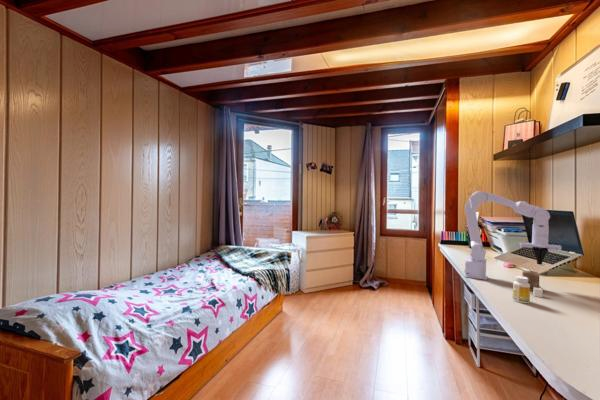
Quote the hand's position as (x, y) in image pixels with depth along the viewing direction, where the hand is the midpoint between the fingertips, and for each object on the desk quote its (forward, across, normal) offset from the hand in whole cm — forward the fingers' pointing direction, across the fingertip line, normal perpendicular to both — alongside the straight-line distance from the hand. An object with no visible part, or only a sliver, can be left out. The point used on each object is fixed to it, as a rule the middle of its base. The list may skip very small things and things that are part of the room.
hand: (539, 264), depth 130 cm
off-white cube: (+10, -3, -16) cm, 19 cm away
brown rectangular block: (+10, -4, -6) cm, 12 cm away
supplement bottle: (+11, -10, -27) cm, 31 cm away
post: (+10, -4, -6) cm, 13 cm away
